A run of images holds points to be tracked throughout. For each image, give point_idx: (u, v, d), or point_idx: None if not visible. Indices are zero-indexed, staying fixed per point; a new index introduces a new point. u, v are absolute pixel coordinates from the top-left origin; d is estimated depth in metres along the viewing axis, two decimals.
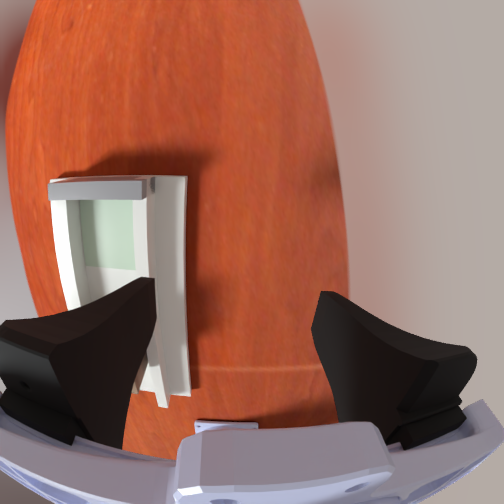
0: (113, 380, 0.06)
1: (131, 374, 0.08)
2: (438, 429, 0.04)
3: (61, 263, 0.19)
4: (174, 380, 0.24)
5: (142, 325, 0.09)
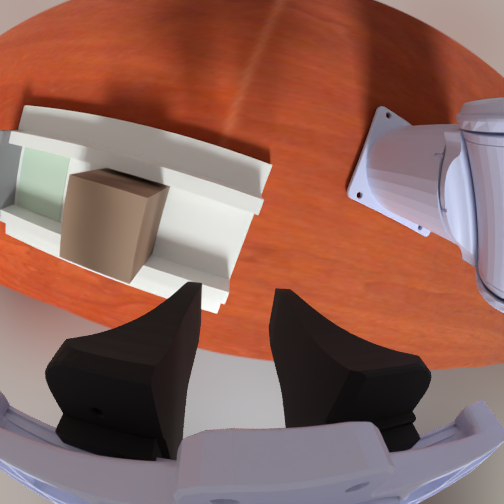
0: (179, 391, 0.07)
1: (186, 382, 0.08)
2: None
3: (57, 252, 0.18)
4: (230, 174, 0.18)
5: (194, 331, 0.09)
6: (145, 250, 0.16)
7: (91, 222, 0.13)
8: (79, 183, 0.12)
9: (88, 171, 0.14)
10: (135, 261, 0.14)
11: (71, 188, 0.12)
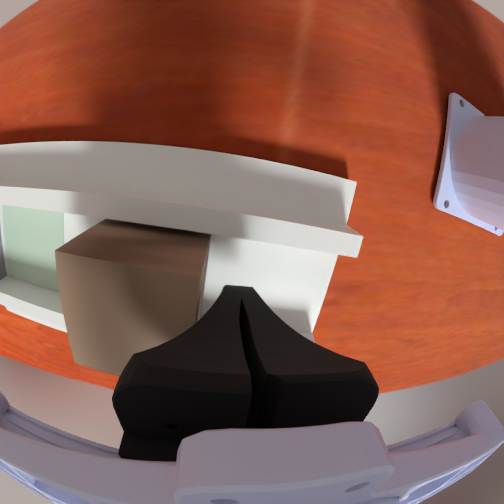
0: None
1: None
2: None
3: None
4: (303, 201, 0.12)
5: None
6: None
7: (109, 319, 0.08)
8: (73, 263, 0.07)
9: (85, 232, 0.09)
10: None
11: (63, 272, 0.07)
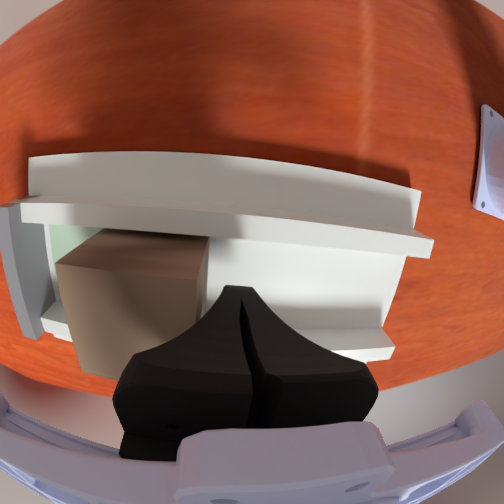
0: None
1: None
2: None
3: None
4: (382, 211, 0.13)
5: None
6: None
7: (113, 327, 0.08)
8: (73, 274, 0.07)
9: (84, 243, 0.09)
10: None
11: (64, 283, 0.07)
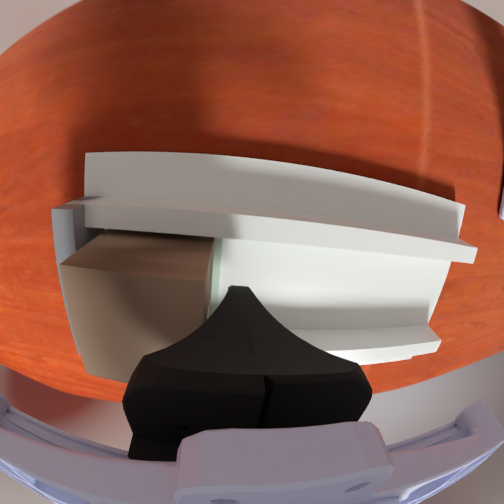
0: None
1: None
2: None
3: None
4: (437, 222, 0.13)
5: None
6: None
7: (118, 329, 0.08)
8: (79, 276, 0.07)
9: (88, 244, 0.09)
10: None
11: (69, 285, 0.07)
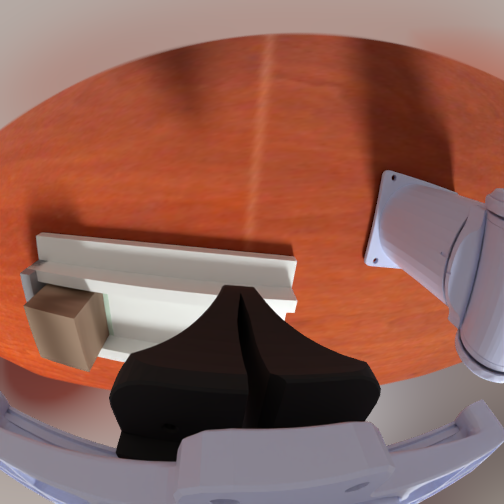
0: None
1: None
2: None
3: None
4: (261, 277, 0.20)
5: None
6: (96, 341, 0.18)
7: (49, 335, 0.15)
8: (31, 311, 0.14)
9: (38, 292, 0.16)
10: (87, 356, 0.16)
11: (28, 314, 0.14)
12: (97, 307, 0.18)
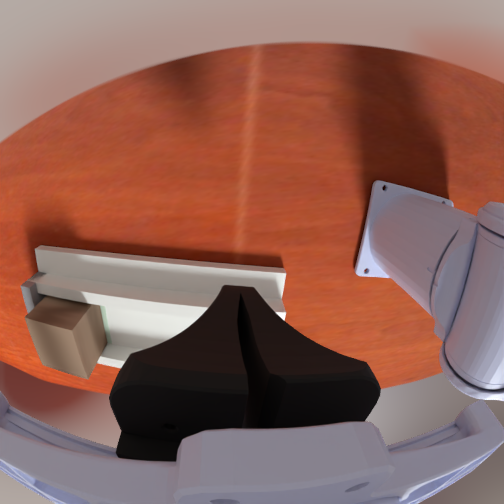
0: None
1: None
2: None
3: None
4: None
5: None
6: (95, 350, 0.19)
7: (49, 345, 0.15)
8: (32, 322, 0.15)
9: (38, 304, 0.16)
10: (86, 364, 0.17)
11: (29, 325, 0.15)
12: (95, 318, 0.19)
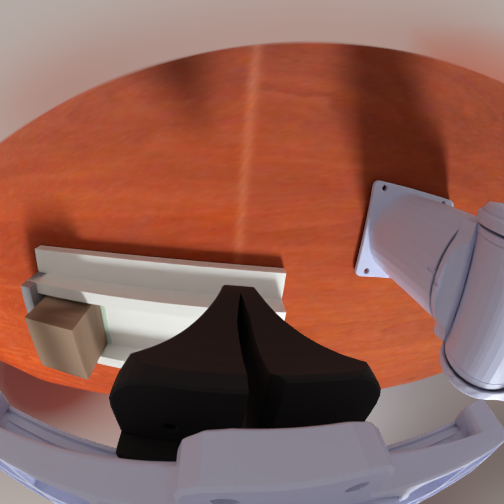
0: None
1: None
2: None
3: None
4: None
5: None
6: (95, 350, 0.19)
7: (49, 345, 0.15)
8: (32, 322, 0.15)
9: (38, 304, 0.16)
10: (86, 364, 0.17)
11: (29, 325, 0.15)
12: (95, 318, 0.19)
